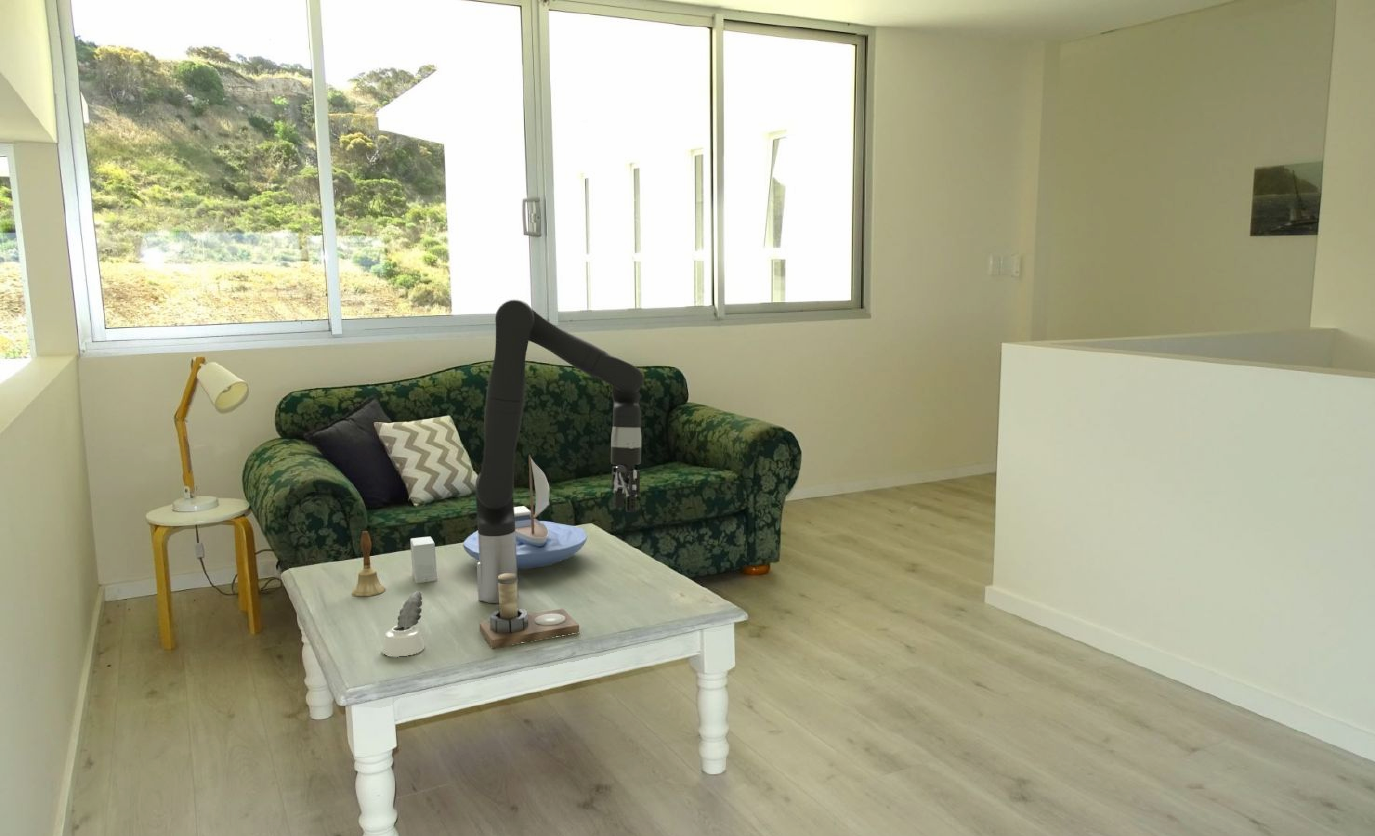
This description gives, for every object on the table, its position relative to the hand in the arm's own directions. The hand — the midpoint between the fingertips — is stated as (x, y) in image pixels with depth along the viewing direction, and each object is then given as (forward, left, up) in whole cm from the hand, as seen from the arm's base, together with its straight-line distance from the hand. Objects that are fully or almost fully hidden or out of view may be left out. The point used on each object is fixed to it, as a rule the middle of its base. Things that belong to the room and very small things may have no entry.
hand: (624, 510), depth 246 cm
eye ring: (-20, -31, -20) cm, 42 cm away
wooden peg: (-20, -31, -20) cm, 42 cm away
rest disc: (-12, -25, -20) cm, 35 cm away
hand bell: (-67, -5, -22) cm, 71 cm away
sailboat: (-34, +24, -22) cm, 48 cm away
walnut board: (-16, -28, -22) cm, 39 cm away
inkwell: (-42, -37, -22) cm, 60 cm away
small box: (-57, +7, -22) cm, 62 cm away
